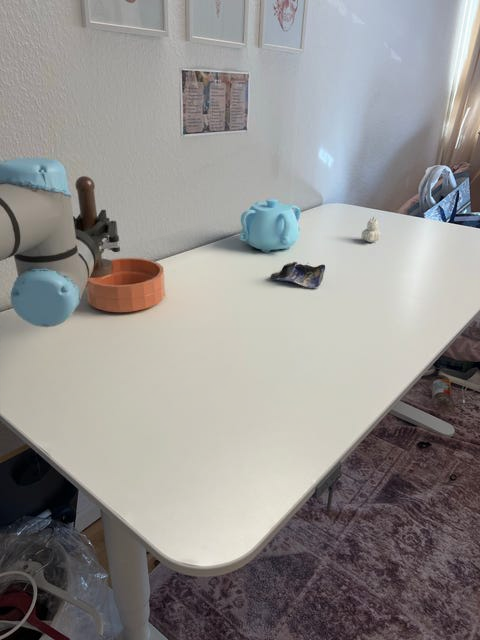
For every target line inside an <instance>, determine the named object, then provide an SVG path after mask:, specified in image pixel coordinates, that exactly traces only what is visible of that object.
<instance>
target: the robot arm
mask: <svg viewBox="0 0 480 640" xmlns="http://www.w3.org/2000/svg"><path fill="white" fill-rule="evenodd" d="M66 171H67V170H66V168H65V166H64V165H63V163H61V162H60V161H59V160H57V159H54V158H47V157H19V158H11V159H6V160H4V161H2V162H0V262H1V261H4V260H6V259H9V258H12V257H13V258H14V263H15V268H16V272H17V277H16V280H15V281H14V282H13V286H12V288H11V291H10V303H11V306H12V308H13V310H14V312H15V313H16V314H17V316H18V317H19V318H21V319H22V320H23V321H25V322H26V323H28V324H30V325H32V326H35V327H39V328H41V327H42V328H51V327H52V328H53V327H56V326H57V327H58V326H59V325H61V324H63V323H65V322H66V321H67V320H69V318H70V317H71V316H72V314H73V312H74V311H75V310H76V309H77V308H78V307H79V305H80V302H81V299H82V296H83V294H84V291H85V290H86V287H85V286H86V284H87V282H88V280H89V278H90V275H91V273H92V271H93V269H94V267H95V265H96V263H97V260H98V257H99V255H100V254H103V253H104V252H105V250H107V251H111V252H113V253H120V252H121V245H120V236H119V234H118V233H119V232H118V224H117V221H116V220H110V217H107V209H101V210H100V212H99V213H98V214H97V218H96V223H97V224H96V225H95V226H94V227H92V228H91V229H87V230H86V231H84V232H83V230H82V222H81V215H80V213H79V214H78V215H77V217H76V216H74V212H73V205H72V204H73V203H72V193H71V192H70V187H69V181H68V177H67V172H66Z"/></svg>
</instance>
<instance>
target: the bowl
mask: <svg viewBox="0 0 480 640" xmlns="http://www.w3.org/2000/svg"><path fill="white" fill-rule="evenodd" d="M109 260H110V261H111V262H112V264H113V272H112V273H111V274H109V275H107V276H104V277H98V278H89V280H88V282H87V284H86V286H85V291H86V292H85V293H86V301H87V302H88V303H89V305H90V306H91V307H93V308H96V309H97V310H101V311H104V312H109V313H110V312H111V313H112V312H113V313H132V312H136V311H137V312H138V311H141V310H145V309H149V308H151V307H153V306H156V305H157V304H158V303H160V302H162V301H163V299H164V298H165V296H166V287H165V286H166V285H165V270H164V266H163V265H162V264H160V263H159V262H157V261H155V260H152V259H147V258H141V257H140V258H139V257H120V258H119V257H117V258H113V259H109Z"/></svg>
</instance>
